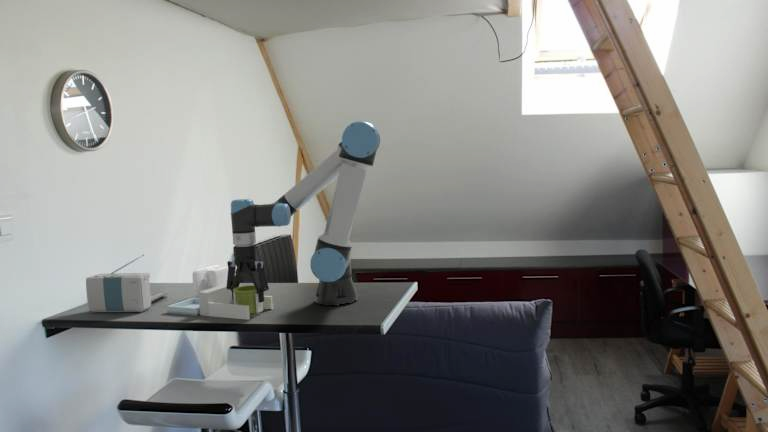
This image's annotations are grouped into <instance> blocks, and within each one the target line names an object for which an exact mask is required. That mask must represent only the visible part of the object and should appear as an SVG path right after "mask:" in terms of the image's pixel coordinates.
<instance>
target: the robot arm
mask: <svg viewBox="0 0 768 432" xmlns="http://www.w3.org/2000/svg"><path fill="white" fill-rule="evenodd" d="M380 144H381V136H380V134H379V131H378V130H377V128H376V127H375V126H374V125H373V124H372V123H370V122H368V121H363V120H357V121H354V122H351V123H350V124H349V125H347V126H346V128H345V129H344V131H343V133H342V135H341V142H339V143H338V145H337V149H335V151H334V152H332V153H331V154H330V155H329V156H327V158H325V159H324V160H323V161H322V162H321V163H319V164H318V165H317V166H316V167H314V168H313V169H312V170H311V171H310V172H309V173H308V174H307V175H306V176H304V177H302V179H300V180H299V181H298V182H297V183H296V184H295V185H294V186H292V187H291V188H290V189H289V190H288V191H287V192H285V193H284V194H283V195H282V196H281V197H280V198H278V199H277V200H276V201H275V202H272V203H267V204H265V203H264V204H255V203H254V200H253V199H252V198H240V199H239V198H238V199H233V200H232V201H231V202H230V217H231V218H230V219H231V230H232V231H231V233H232V244H233V247H232V249H233V250H232V252H233V258H234V260H228V261H227V266H228V277H227V287H226V288H227V289H229V290H231V291H232V299H233V300H234V304H238V303H237V298H236V295H235V292H234V291H233V289H234V288H237V287H240V284H241V281H242V278H243V274H244V273H247V274H248V276H249V277H250V279H251V281H252V285H254V286H255V288H256V290H257V293H255V297H256V314H259V313H261V312H263V311H264V309H263V302H264V296H265V292H267V291H269V289H270V288H269V282H268V281H267V280H268V279H267V275H266V270H265V262H264V261H258V260H257V246H256V242H257V240H256V228H260V227H266V228H267V227H278V228H279V227H286V226H289V225H290V223H291V217H293V215H295V214H296V213H297V212H298V211H299V210H300V209H301V208H303V207H304V206H305V205H306V204H307V203H309V202H310V201H311V200H312V199H313V198H314V197H316V196H317V195H319V193H321V192H322V190H324V189H325V188H326V187H328V186H329V185H330V184H331V183H333V182H334V181H335V180H336V179H337V180H336V186H335V188H334V194H333V197H332V200H331V205H330V209H329V213H328V216H327V221H326V224H325V228H324V233H322V234H321V235H319V236H318V238H317V241H316V245H315V249H314V253H313V254H312V256H311V258H310V270H311V272H312V274H313V275H314V277H315V278H316V279H318V281H319V282H318V283H317V289H316V292H315V297H314V298H315V303H316V304H317V303H318V304H317V305H320V304H323V305H322V306H328V305H335V306H338V305H337V304H345V303H350V302H353V301H355V300H357V301H358V292H357V290H356V287H355V283H354V282H353V280H352V261H351V258H352V257H351V250H352V247H353V244H352V242H351V240H350V237H351V234H352V233H351V232H352V228H353V225H354V221H355V217H356V215H357V214H356V213H357V210H358V206H359V203H360V199H361V194H362V191H363V186H364V182H365V179H366V175H367V171H368V170H369V169H371V168H373V166H374V162H375V158H376V155H377V152H378V149H379V147H380ZM236 266H237V269H236ZM235 270H236V272H235ZM235 273H236V275H235ZM355 302H356V301H355ZM353 303H354V302H353ZM350 304H351V303H350ZM345 305H346V304H345Z"/></svg>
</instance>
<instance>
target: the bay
mask: <svg viewBox="0 0 768 432" xmlns="http://www.w3.org/2000/svg"><path fill="white" fill-rule="evenodd" d="M226 287H227V284H223V285H220V286H217V287H214V288H210V289H207V290H204V291H201V292H198V293H199V307H200V315H199V316H204V317H205V316H206V317H214V318H215V317H216V318H224V319H225V318H226V319H237V320H246V321H247V320H248V321H249V320H250V319H251V318H250V316H251V315H250V314H249V305H239V304H234V300H233V299H232V291H231V290H229V289H227V288H226ZM268 309H272V310H274V296H272V295H264V302H263V310H268Z"/></svg>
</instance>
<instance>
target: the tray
mask: <svg viewBox="0 0 768 432" xmlns="http://www.w3.org/2000/svg"><path fill="white" fill-rule="evenodd" d="M166 311H167V314H172V315H183V316H193V317H195V316H196V317H197V316H201V315H200V307H199V298H196V297H190V298H188V299H185V300H182V301H178V302H175V303H172V304H169V305H166Z"/></svg>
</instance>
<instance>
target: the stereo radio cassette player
mask: <svg viewBox="0 0 768 432" xmlns="http://www.w3.org/2000/svg"><path fill="white" fill-rule="evenodd" d="M144 256H145V254H142V255H140V256H139V257H137V258H135V259H133V260H132V261H129V262H128V263H126V264H124V265H122V266H121V267H119V268H117V269H116V270H114V271H112V272H111V273H98V274H94V275H92V276H88V277H86V278H85V289H86V299H87V301H86V302H87V307H88V311H90V312H91V313H93V314H95V313H143V312H145V311H147V310H148V309H150V308H151V306H152V297H151V286H150V277H151V276H150V273H149V272H130V273H129V272H128V273H127V272H126V273H124V272H123V273H121V272H120V273H119V272H118V271H120V270H122V269H124V268H126V267H127V266H129V265H130V264H132V263H134V262H135V261H136V260H138V259H140V258H141V257H144Z"/></svg>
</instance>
